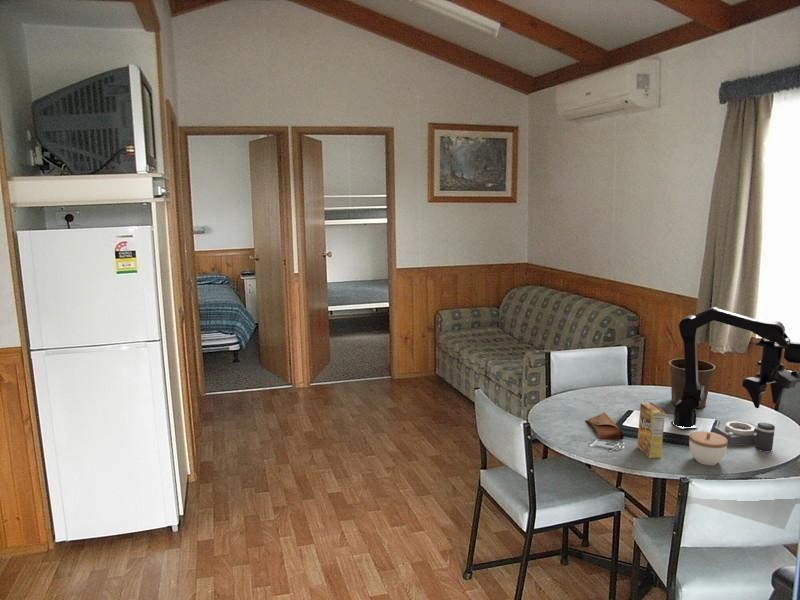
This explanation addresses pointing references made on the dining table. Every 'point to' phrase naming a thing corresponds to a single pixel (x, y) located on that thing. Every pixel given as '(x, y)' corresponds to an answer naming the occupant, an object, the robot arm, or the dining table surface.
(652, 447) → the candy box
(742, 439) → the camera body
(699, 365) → the plant pot
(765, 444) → the lens
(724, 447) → the lidded jar
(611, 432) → the sunglasses case
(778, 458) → the dining table surface
